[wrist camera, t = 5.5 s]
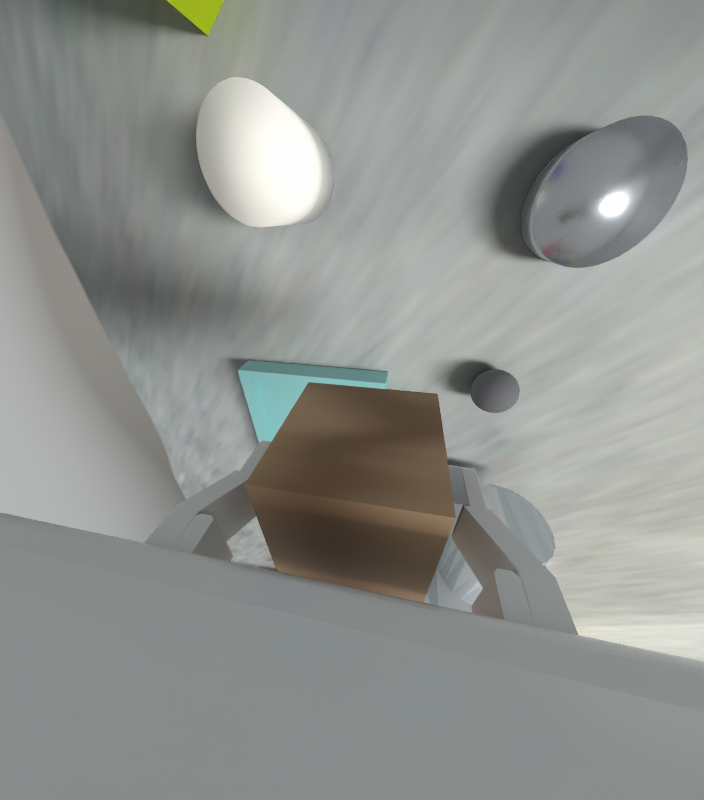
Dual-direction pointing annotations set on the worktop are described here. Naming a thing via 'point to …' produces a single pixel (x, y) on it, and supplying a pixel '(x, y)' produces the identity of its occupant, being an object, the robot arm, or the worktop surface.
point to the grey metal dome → (605, 192)
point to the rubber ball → (494, 391)
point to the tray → (292, 388)
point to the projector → (453, 573)
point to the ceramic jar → (261, 156)
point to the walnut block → (357, 489)
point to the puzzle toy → (199, 11)
